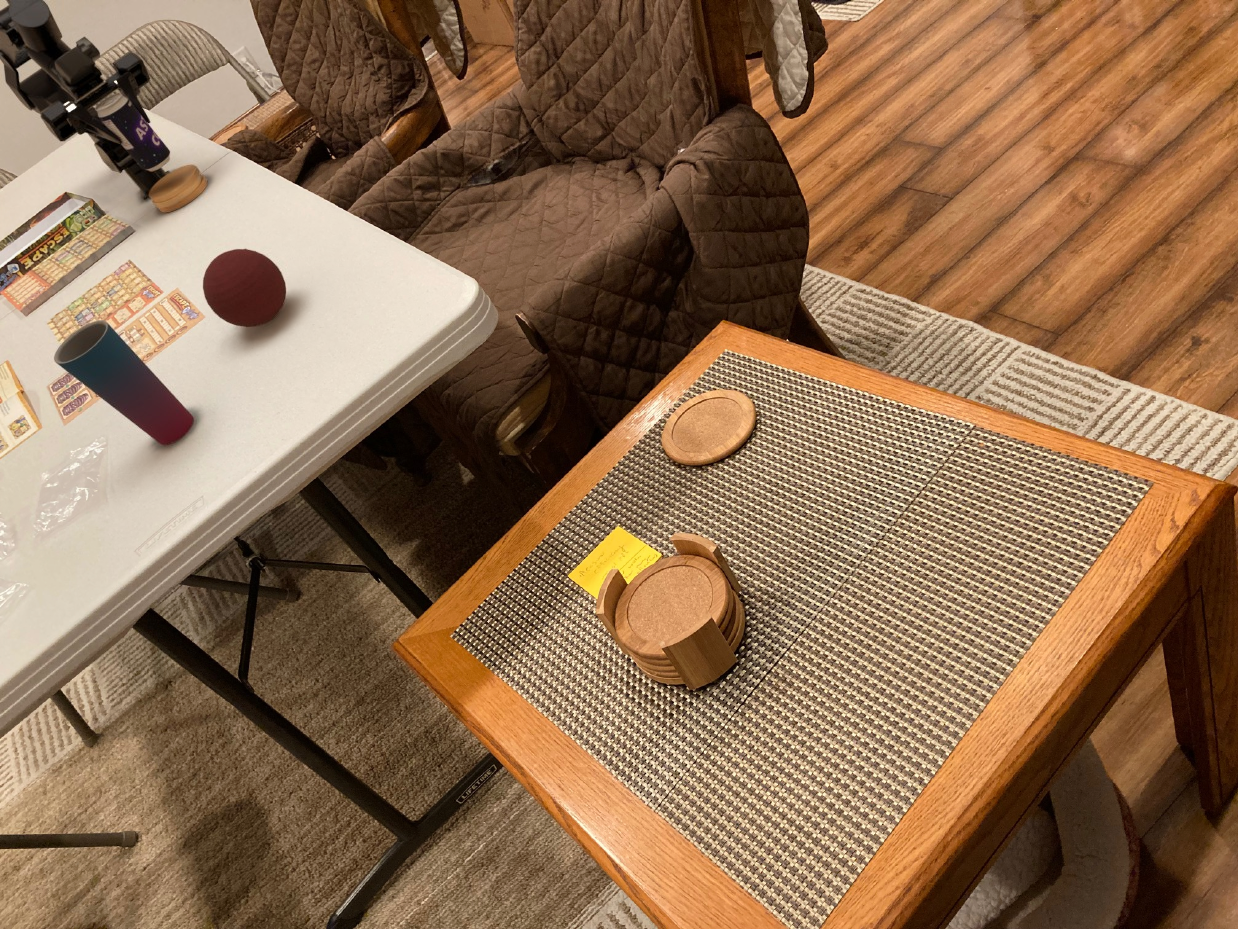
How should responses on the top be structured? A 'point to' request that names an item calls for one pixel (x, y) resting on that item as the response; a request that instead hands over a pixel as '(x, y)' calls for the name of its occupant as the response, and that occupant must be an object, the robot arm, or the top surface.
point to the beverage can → (133, 132)
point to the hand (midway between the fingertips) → (134, 131)
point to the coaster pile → (177, 188)
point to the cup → (123, 381)
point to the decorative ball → (244, 287)
